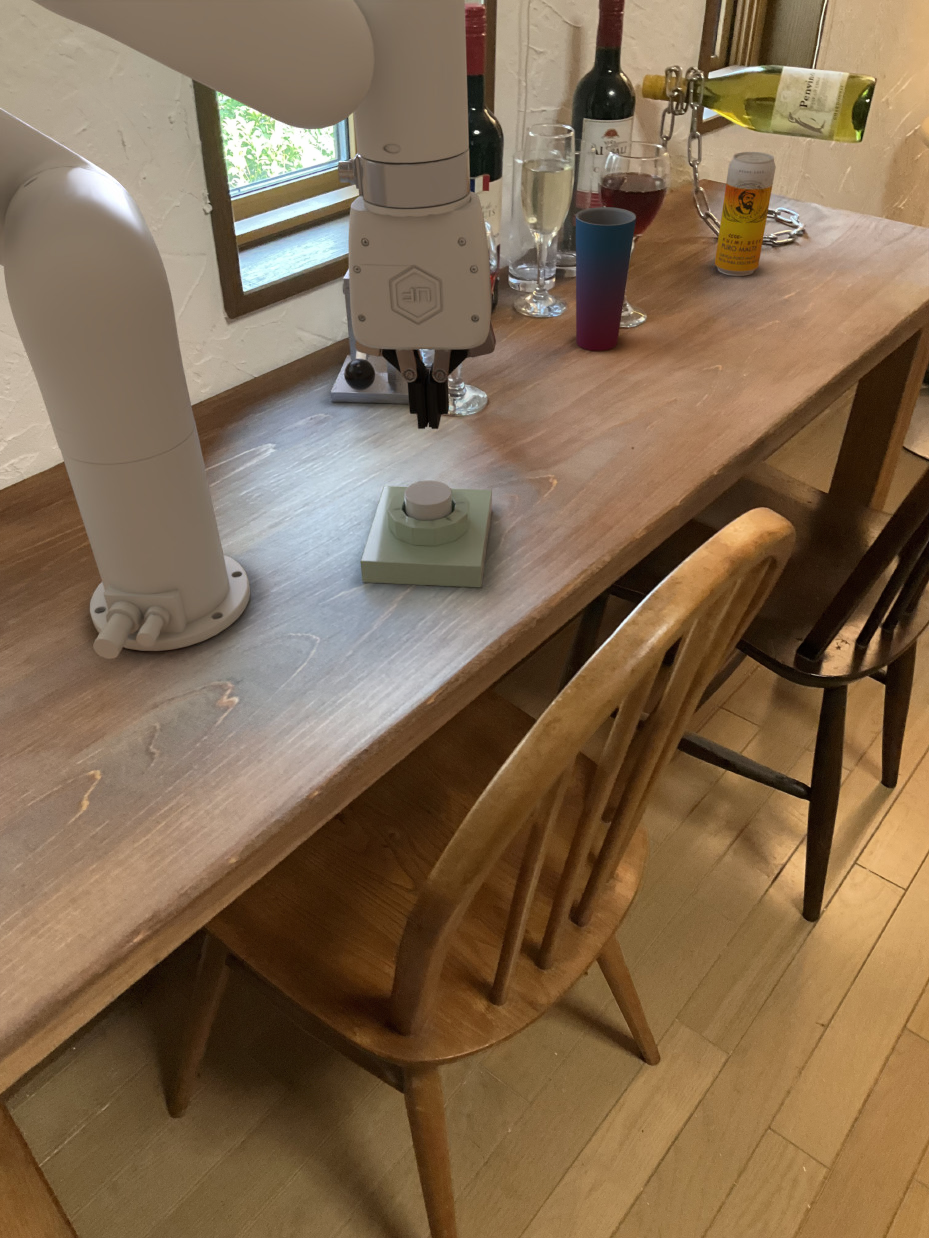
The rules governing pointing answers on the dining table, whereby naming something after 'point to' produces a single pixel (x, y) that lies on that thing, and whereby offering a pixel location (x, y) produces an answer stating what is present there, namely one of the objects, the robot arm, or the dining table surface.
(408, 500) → the beige push button
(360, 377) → the flush lever
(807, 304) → the dining table surface
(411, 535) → the block
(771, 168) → the beer can
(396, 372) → the lever bracket
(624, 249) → the cup
